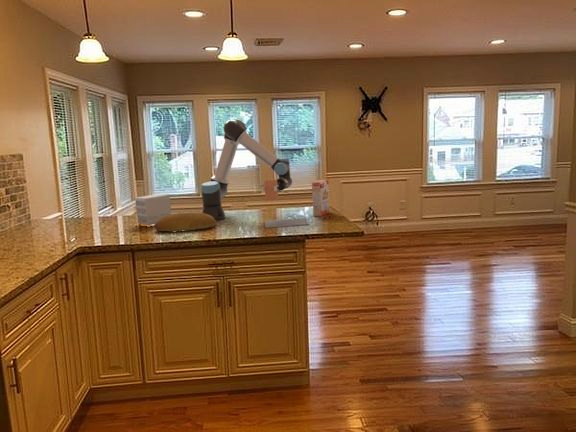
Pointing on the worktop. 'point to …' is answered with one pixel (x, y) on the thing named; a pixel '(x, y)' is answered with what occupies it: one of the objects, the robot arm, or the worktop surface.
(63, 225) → the worktop surface
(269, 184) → the deck
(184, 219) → the bread
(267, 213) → the worktop surface
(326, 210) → the cracker box
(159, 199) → the supplement box
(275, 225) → the mat
